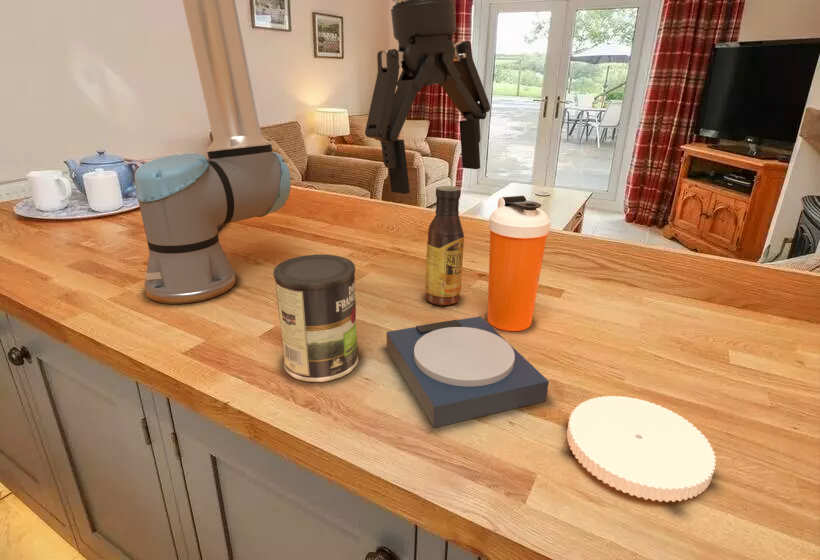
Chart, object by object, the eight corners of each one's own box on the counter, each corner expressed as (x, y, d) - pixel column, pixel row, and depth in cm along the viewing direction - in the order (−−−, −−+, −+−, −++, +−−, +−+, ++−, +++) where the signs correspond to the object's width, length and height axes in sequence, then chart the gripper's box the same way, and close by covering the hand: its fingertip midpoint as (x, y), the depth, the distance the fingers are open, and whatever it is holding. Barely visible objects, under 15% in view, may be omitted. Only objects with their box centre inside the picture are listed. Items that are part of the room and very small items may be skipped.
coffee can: (367, 346, 72) (364, 256, 66) (344, 387, 63) (339, 287, 57) (301, 338, 74) (293, 250, 68) (270, 377, 65) (258, 279, 59)
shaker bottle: (504, 339, 74) (516, 210, 66) (470, 315, 82) (478, 196, 74) (549, 327, 78) (566, 203, 70) (513, 304, 85) (525, 191, 77)
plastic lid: (735, 467, 51) (742, 448, 50) (661, 535, 43) (668, 514, 42) (614, 399, 61) (618, 382, 60) (538, 443, 54) (541, 425, 53)
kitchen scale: (386, 349, 71) (386, 325, 70) (479, 333, 76) (480, 310, 74) (433, 428, 56) (434, 399, 54) (546, 401, 60) (550, 374, 59)
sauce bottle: (449, 310, 83) (455, 194, 75) (418, 301, 86) (420, 189, 78) (466, 296, 88) (473, 187, 80) (436, 289, 91) (440, 182, 83)
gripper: (356, -3, 47) (385, 208, 56) (513, -8, 62) (517, 161, 71) (314, 8, 53) (347, 200, 62) (468, 2, 67) (477, 157, 76)
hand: (438, 179), depth 66 cm, fingers open, 13 cm apart
